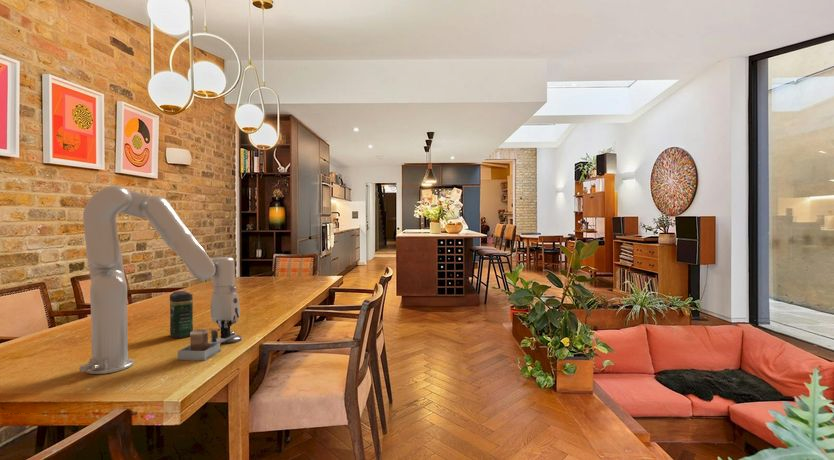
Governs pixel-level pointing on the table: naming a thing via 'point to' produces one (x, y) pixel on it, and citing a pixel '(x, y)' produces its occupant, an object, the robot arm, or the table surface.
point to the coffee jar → (181, 314)
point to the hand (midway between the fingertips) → (225, 337)
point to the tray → (198, 352)
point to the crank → (215, 336)
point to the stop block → (199, 340)
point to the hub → (233, 339)
